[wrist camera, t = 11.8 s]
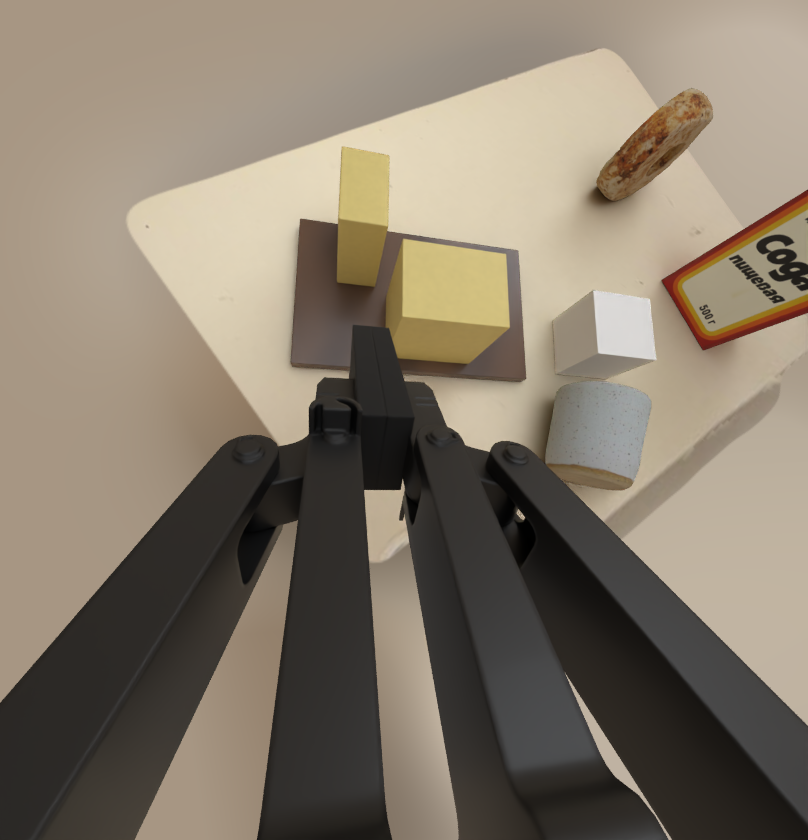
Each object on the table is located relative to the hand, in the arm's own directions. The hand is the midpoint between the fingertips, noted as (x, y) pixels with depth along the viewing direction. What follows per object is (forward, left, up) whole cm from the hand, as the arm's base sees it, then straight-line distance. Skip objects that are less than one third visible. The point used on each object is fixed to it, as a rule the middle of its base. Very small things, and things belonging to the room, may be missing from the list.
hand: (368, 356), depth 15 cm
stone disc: (+31, +30, -17) cm, 46 cm away
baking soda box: (+41, +16, -17) cm, 47 cm away
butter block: (+7, +9, -15) cm, 19 cm away
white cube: (+24, +9, -17) cm, 30 cm away
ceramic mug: (+23, -1, -17) cm, 28 cm away
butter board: (+6, +12, -16) cm, 21 cm away
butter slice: (0, +16, -15) cm, 22 cm away
